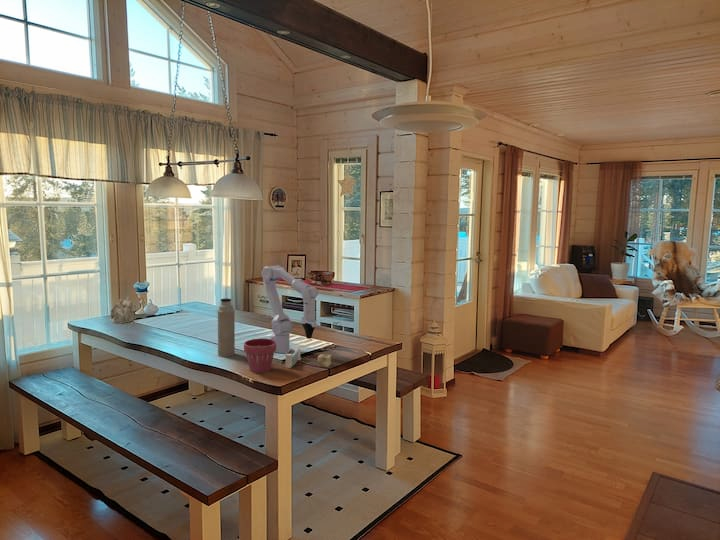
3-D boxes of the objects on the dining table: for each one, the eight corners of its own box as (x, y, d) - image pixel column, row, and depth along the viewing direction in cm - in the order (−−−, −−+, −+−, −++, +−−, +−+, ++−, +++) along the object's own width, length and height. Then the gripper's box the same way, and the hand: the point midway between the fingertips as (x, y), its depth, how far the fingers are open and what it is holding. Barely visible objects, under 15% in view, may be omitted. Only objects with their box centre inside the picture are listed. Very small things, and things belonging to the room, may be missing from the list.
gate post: (292, 359, 240) (293, 349, 239) (295, 357, 243) (295, 347, 242) (300, 360, 239) (300, 350, 238) (302, 358, 242) (302, 348, 242)
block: (317, 366, 231) (317, 356, 231) (320, 363, 236) (320, 354, 236) (327, 367, 230) (328, 357, 230) (330, 364, 235) (331, 354, 234)
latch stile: (283, 367, 228) (283, 354, 227) (288, 363, 235) (288, 350, 234) (290, 368, 227) (290, 355, 227) (295, 363, 234) (295, 351, 233)
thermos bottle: (234, 351, 250) (234, 297, 247) (235, 356, 242) (234, 300, 239) (217, 352, 248) (217, 297, 244) (218, 357, 240) (217, 300, 237)
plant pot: (238, 373, 218) (238, 345, 217) (251, 363, 232) (251, 337, 230) (269, 376, 215) (269, 347, 214) (280, 366, 229) (280, 339, 227)
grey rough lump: (118, 316, 320) (117, 294, 318) (139, 319, 316) (138, 296, 313) (99, 323, 306) (98, 299, 303) (121, 326, 301) (120, 302, 298)
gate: (295, 360, 239) (295, 351, 238) (297, 360, 239) (298, 351, 238) (290, 365, 230) (290, 356, 230) (293, 365, 230) (293, 356, 229)
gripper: (296, 309, 247) (296, 335, 248) (307, 314, 234) (306, 342, 236) (309, 308, 250) (309, 334, 252) (321, 313, 237) (320, 341, 239)
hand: (308, 338), depth 244 cm, fingers closed
